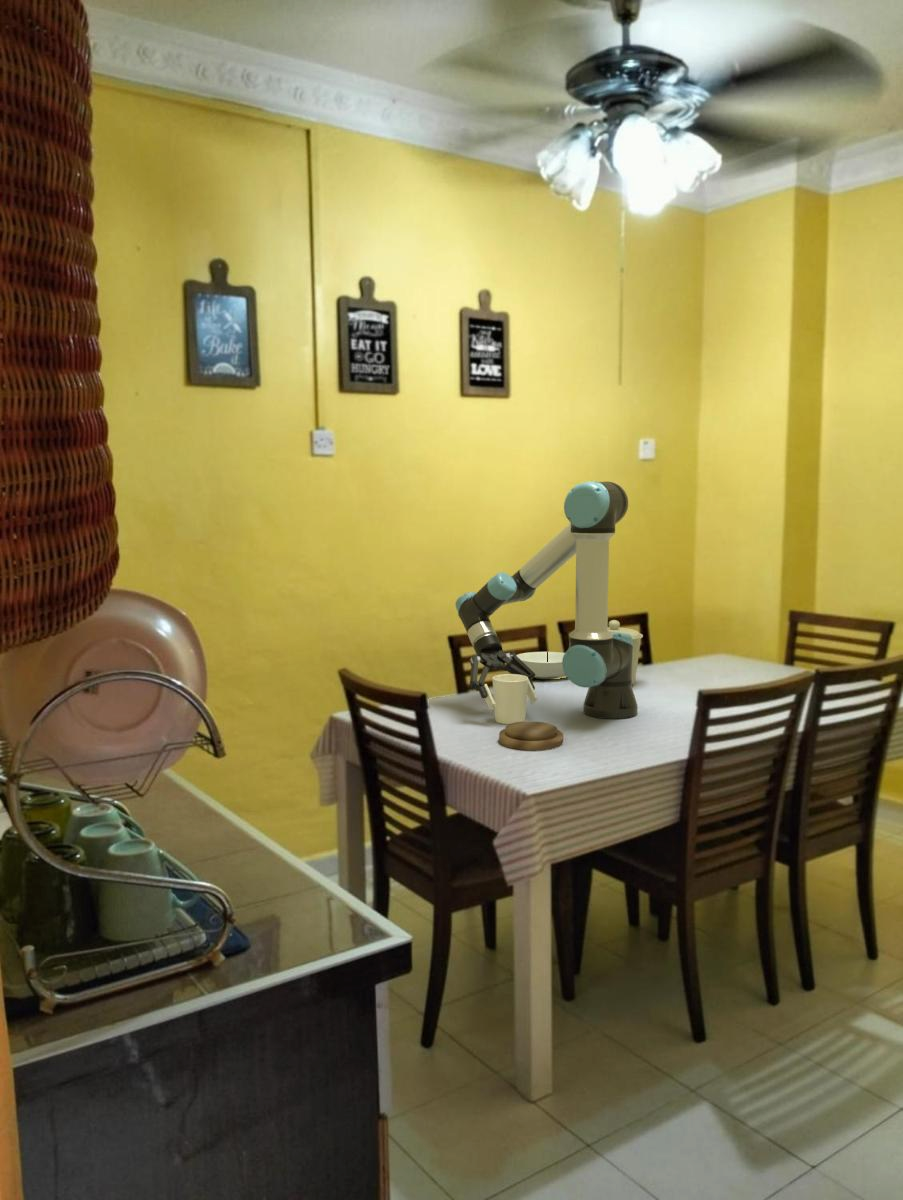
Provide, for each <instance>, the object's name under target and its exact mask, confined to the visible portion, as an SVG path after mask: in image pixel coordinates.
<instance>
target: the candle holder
mask: <svg viewBox="0 0 903 1200" xmlns="http://www.w3.org/2000/svg"><path fill="white" fill-rule="evenodd" d="M491 678H492V691H493V695H492V697H493V699H494V701H495V706H494V707H493V710H494V721H495V722H496V723H498V724H502V725H508V724H511V723H515V722H524V721H526V720H527V719H526V718H527V705H528V703H527V702H528V700H527V699H528V695H527V689H528V677H527V676H524V675H518V674H511V673H504V674H497V675H494V676H492V677H491Z"/></svg>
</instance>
